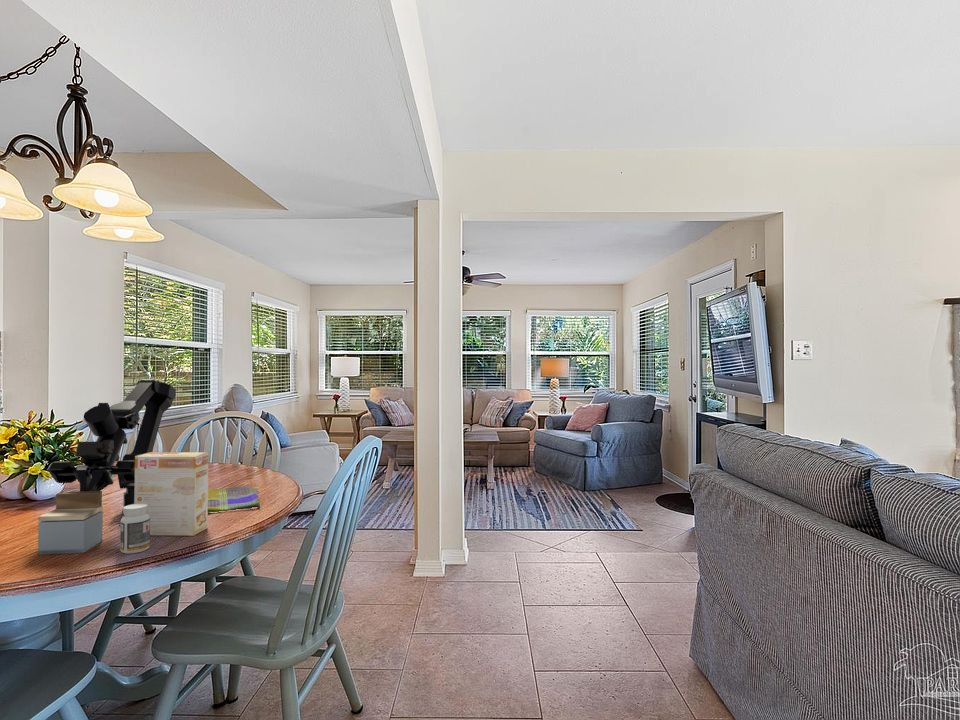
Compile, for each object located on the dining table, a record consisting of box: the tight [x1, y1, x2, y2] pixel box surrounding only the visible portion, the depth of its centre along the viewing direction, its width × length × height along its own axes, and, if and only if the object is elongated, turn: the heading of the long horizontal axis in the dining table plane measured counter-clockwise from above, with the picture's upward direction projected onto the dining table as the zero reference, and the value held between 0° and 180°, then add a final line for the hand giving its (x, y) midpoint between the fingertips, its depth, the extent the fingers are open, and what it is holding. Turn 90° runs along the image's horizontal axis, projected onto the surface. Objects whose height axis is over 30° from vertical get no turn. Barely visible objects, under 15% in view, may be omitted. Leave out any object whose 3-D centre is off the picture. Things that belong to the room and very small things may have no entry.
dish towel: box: [208, 484, 261, 513], centre depth 165 cm, size 18×24×3 cm
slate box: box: [37, 510, 104, 555], centre depth 123 cm, size 8×9×7 cm
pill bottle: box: [119, 504, 151, 555], centre depth 122 cm, size 6×6×10 cm
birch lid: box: [37, 490, 104, 522], centre depth 123 cm, size 8×9×4 cm
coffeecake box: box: [134, 451, 209, 537], centre depth 136 cm, size 15×7×20 cm, turn 90°
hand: (82, 501), depth 128 cm, fingers closed, pressing on birch lid
